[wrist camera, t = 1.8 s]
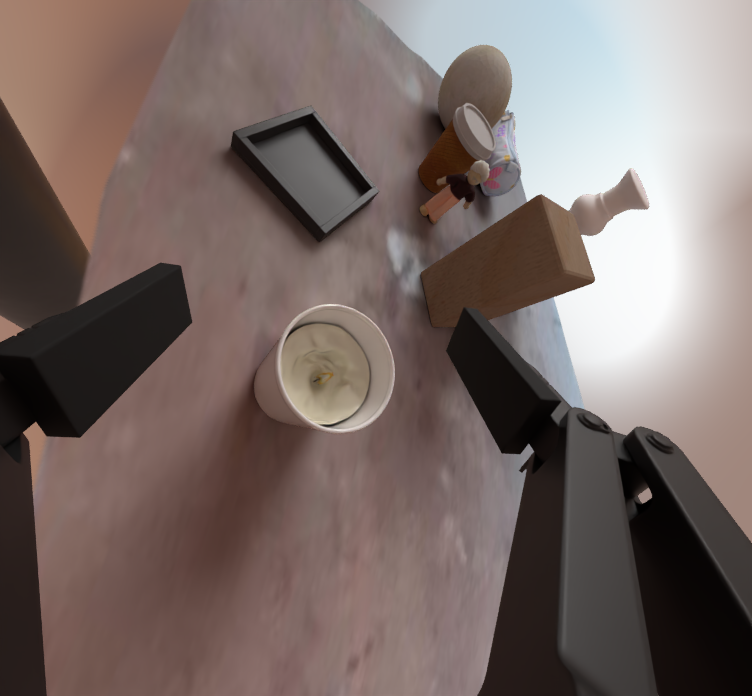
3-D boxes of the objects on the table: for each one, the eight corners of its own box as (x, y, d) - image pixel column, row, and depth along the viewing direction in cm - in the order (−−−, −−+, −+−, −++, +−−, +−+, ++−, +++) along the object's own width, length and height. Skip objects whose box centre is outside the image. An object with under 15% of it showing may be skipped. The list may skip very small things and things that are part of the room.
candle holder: (311, 446, 29) (371, 456, 20) (223, 405, 26) (245, 393, 16) (346, 369, 34) (408, 347, 24) (276, 325, 30) (317, 278, 21)
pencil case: (471, 131, 72) (504, 97, 64) (491, 153, 76) (524, 123, 69) (470, 186, 64) (508, 154, 57) (493, 206, 69) (530, 179, 61)
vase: (502, 287, 62) (653, 221, 42) (481, 244, 61) (624, 155, 41) (520, 275, 68) (657, 213, 48) (501, 236, 67) (633, 156, 47)
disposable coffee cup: (406, 173, 51) (457, 115, 41) (418, 149, 55) (467, 91, 46) (440, 209, 55) (494, 163, 45) (449, 183, 59) (500, 136, 49)
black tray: (230, 146, 32) (232, 131, 30) (306, 118, 40) (311, 105, 38) (319, 242, 36) (325, 233, 34) (372, 200, 44) (379, 191, 42)
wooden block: (430, 327, 45) (566, 273, 29) (419, 272, 46) (540, 191, 30) (467, 327, 50) (597, 282, 34) (456, 278, 52) (574, 213, 36)
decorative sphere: (426, 84, 64) (481, 6, 52) (467, 129, 71) (524, 69, 59) (421, 124, 58) (482, 46, 46) (467, 168, 66) (529, 110, 54)
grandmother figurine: (415, 214, 49) (473, 160, 39) (415, 198, 51) (471, 141, 40) (444, 232, 53) (504, 187, 43) (443, 216, 55) (501, 169, 45)
